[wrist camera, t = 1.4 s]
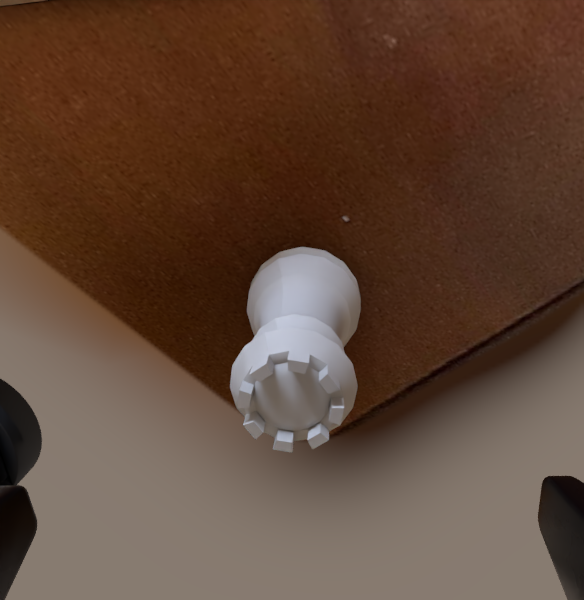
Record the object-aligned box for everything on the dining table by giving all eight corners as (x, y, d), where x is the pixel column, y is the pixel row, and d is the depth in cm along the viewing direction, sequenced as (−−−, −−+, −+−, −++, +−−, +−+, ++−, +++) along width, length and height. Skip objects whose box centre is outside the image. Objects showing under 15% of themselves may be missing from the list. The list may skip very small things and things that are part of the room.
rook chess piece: (231, 271, 18) (162, 363, 10) (333, 225, 17) (340, 288, 9) (278, 362, 19) (249, 505, 11) (377, 324, 18) (414, 451, 10)
